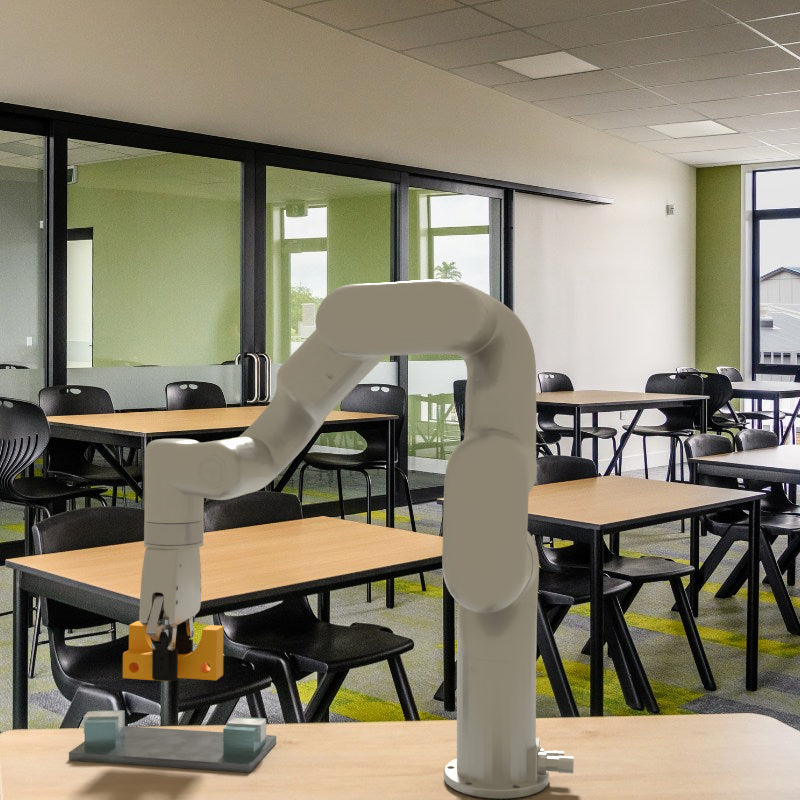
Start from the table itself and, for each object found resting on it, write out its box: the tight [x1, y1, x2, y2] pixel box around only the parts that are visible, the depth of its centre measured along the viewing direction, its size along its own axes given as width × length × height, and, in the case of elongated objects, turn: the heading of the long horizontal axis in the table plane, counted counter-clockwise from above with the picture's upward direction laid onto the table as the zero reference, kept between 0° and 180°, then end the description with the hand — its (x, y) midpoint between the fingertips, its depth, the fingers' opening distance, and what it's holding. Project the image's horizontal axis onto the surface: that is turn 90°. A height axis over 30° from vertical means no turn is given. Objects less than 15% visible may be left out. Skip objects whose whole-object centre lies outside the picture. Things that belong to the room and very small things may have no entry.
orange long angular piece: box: [122, 620, 225, 682], centre depth 140 cm, size 12×4×6 cm, turn 80°
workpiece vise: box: [68, 709, 277, 774], centre depth 140 cm, size 24×11×4 cm, turn 80°
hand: (172, 673), depth 140 cm, fingers closed on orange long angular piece, 4 cm apart
